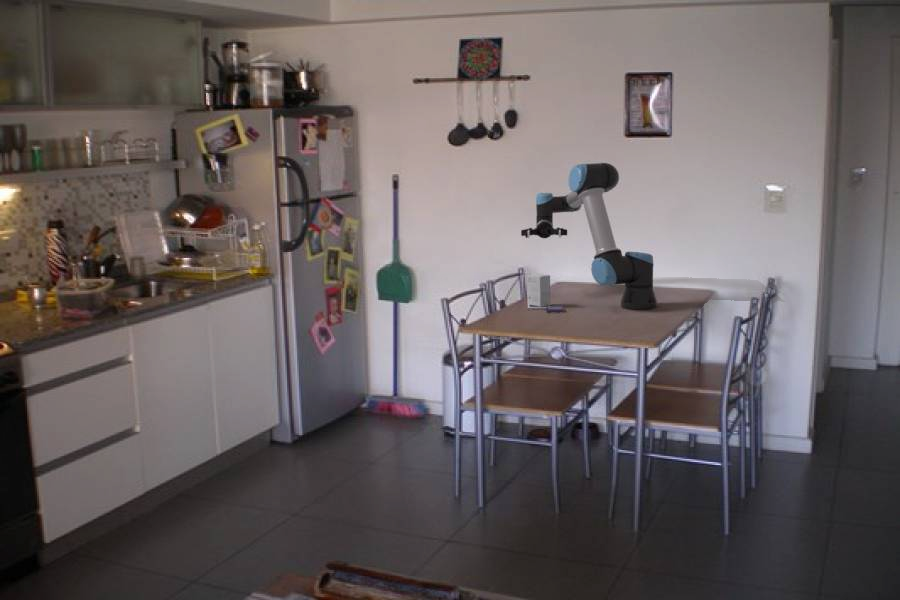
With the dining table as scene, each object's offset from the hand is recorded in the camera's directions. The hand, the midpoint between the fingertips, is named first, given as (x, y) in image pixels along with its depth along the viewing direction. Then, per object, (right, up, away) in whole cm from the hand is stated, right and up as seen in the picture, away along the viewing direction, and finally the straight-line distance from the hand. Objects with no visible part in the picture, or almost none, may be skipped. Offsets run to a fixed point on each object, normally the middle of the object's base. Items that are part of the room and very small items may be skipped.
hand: (544, 234), depth 423 cm
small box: (-3, -31, -4) cm, 31 cm away
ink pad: (+3, -33, -14) cm, 36 cm away
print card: (-3, -31, -4) cm, 32 cm away
